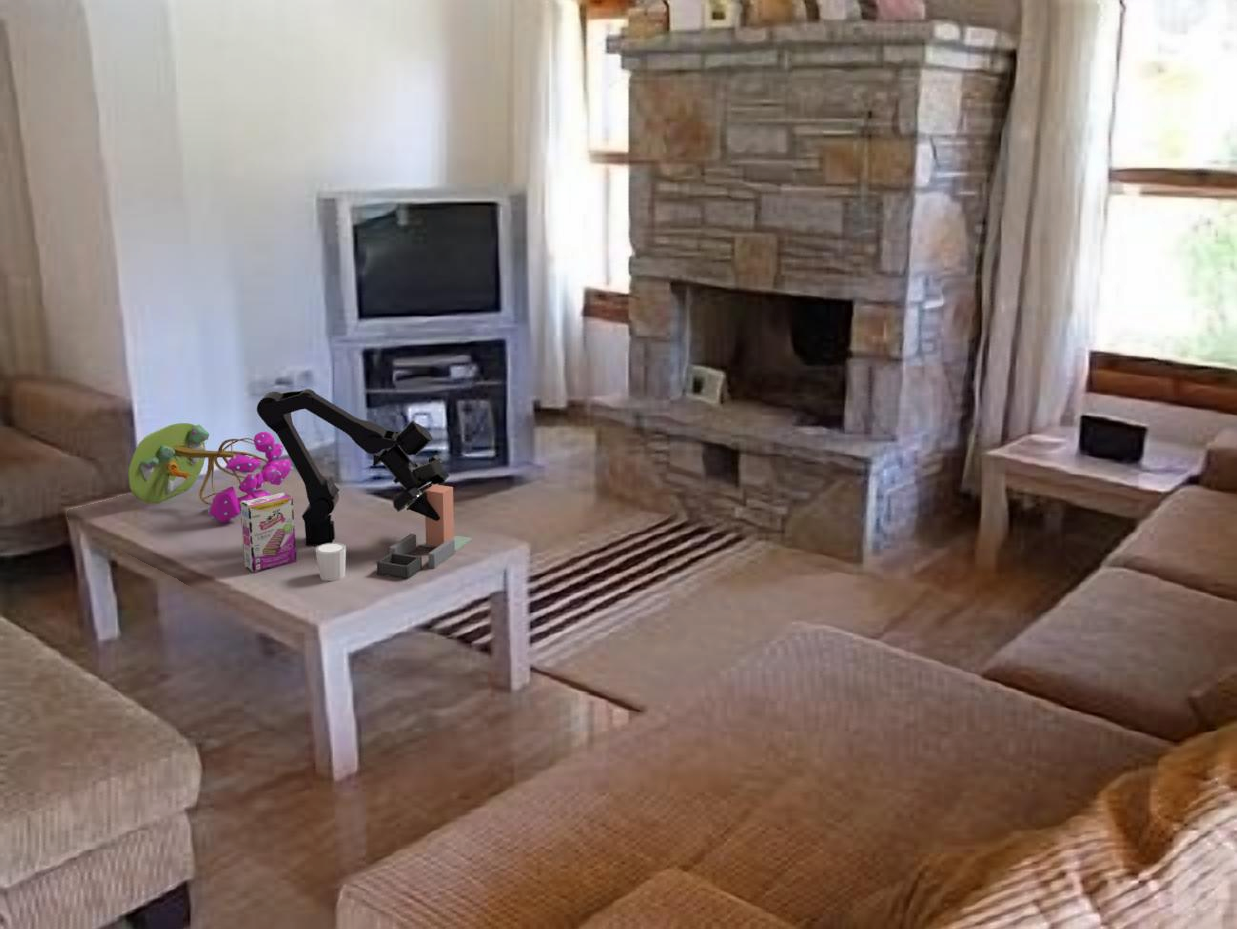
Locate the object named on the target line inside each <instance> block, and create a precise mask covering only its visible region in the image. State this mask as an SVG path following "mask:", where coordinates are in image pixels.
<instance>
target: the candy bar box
mask: <svg viewBox="0 0 1237 929" xmlns="http://www.w3.org/2000/svg"><path fill="white" fill-rule="evenodd" d="M293 500H294V499H293V496H291V495H289V494H287V493H285V492H280V493H279V492H278V493H275V494H271V495H269V496H264V497H260V498H255V499H250V500H246V501H241V502H240V510H241V514H240V520H241V533H242V547H243V548H242V550H243V561H244V567H245V568H246V569H247V570H248V571H250V570H251V571H250V572H252V571H253V572H252V573H258V572H260V571H264V570H270V569H273V568H276V567H279V566H283V565H288V564H292V563H295V562H297V547H296V532H295V530H296V529H295V519H294V518H295V517H294V514H295V513H294V501H293ZM257 571H258V572H257Z"/></svg>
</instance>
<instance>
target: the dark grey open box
mask: <svg viewBox="0 0 1237 929" xmlns="http://www.w3.org/2000/svg"><path fill="white" fill-rule="evenodd" d="M422 558H423V557H422V556H416V555H411V554H407V555H404V554H398V553H390V554H388V555H385V556H383V558H381V559H380V560H378V561H376V572H377V575H379V576H386V577H391V578H400V579H404V580H409V579H410V578H412V577H414V576H415V575H416V574H417V573H419V572H420V571H422V570H423V563H422Z"/></svg>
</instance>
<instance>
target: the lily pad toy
mask: <svg viewBox="0 0 1237 929" xmlns="http://www.w3.org/2000/svg"><path fill="white" fill-rule="evenodd" d="M209 437H210V433H209V432H208V431H207V430H206V429H205V428H204V427H203V426H202V425H201V424H197V425H195V424H193V423H188V422H181V423H173V424H170V425H167V426H164V427H163V428H160V429H158V430H156V431H153V432H151V433H149V434H146V436H145V437H144V438H143V439H142V440H141V441H140V442H139V443H138V445H137V447H136V448H135V451H134V453H133V456H132V458H131V461H130V464H129V466H128V472H127V477H128V478H127V480H128V485H129V489H130V492H131V493H132V494H133V495H134V496H135V497H136V498H137V499H139V500H140V501H143V502H145V503H148V504H156V503H157V504H160V503H162V502H164V501H166V500H168V499H172V498H173V497H175V495H176V496H178V495H180V494H182V493H184V492H183V491H185V492H186V490H187V491H188V490H190V489H191V488H192V487H193V485H194V484H195V482H196V481H197V479H198V478H201V476H200V474H201V472H202V469H203V467H204V464H205V460H208V461H207V470H206V474H205V477H204V480H203V482H202V485H201V487H200V490H199V493H198V497H199V499H200V500H201V502H203V503H204V504H205V505H210V506H209V509H207V513H208V514H209V515H210V516H211V519H212V520H214V519H216V520H218V521H219V522H221V523H223V524H226V523H228V522H230V521H232V520H233V519H235V518H236V517H239V516H241V510H240V502H241V501H246V500H250V499H255V498H260V497H264V496H269V495H272V494H271V493H270V492H269V490H266V489H262V488H263V487H264V485H265V483H266V482H267V483H270V484H271V485H275V486H280V485H281V484H282V483H283V481H284V480H285V479H286V478H287V477H288V475H290V473H291V470H294V467H293V466H292V464H291V463H292V461H291V459H288V458H286V459H285V458H283V459H279V458H280V457H281V456H282V454H283V450H284V446H283V444H281V443H275V438H274V436H273V435H272V434H271V433H270V432H267V431H260V432H258V433H256V434H255V436H254V437H253V438H249V437H246V438H245V437H244V438H240V439H239V438H230V439H226V440H224V441H222V443H221V444H220V445H219V447H218V449H217V450H206V442H205V441H207V440H208V441H209ZM249 440H250V441H249ZM251 441H253V442H254V443H253V442H251ZM230 442H231V443H230ZM238 442H244V443H248V444H251V445H254V448H255V450H256V451H257V452H260V453H264V454H265V458H266V459H267V460H266V459H264V458H262V457H261V456H258V455H256V454H253V453H251V452H250V453H249V452H246V451H240V450H239V451H238V450H233V445H234V444H235V443H238ZM227 443H229V444H227ZM226 444H227V445H226ZM225 445H226V446H225ZM224 446H225V447H224ZM229 447H230V449H231V450H226V449H228V448H229ZM218 458H222V460H223V461H224V462H225V468H223V467H222V466H221V465H220V464H219V462H218ZM228 458H229V459H228ZM278 459H279V460H278ZM276 460H277V461H276ZM261 462H264V463H265V464H263V465H261ZM215 466H216V468H218V469H219V470H220V471H223V472H224V473H226V474H228V475H231V476H233V477H236V479H237V481H238V483H239V485H238V487H237V488H238V490H240V492H242V493H245V494H244V495H242V496H240V497H238V495H237V493H236V489H235V488H234V486H229V487H227V488H225V489H221V490H220V491H217V492H216V491H215V489H214V471H215ZM257 469H259V470H260V472H258V473H256V474H255V475H254V474H253V473H254V472H255V471H257ZM229 470H230V471H232V472H230V471H229ZM238 474H243V475H246V476H241V475H238ZM210 476H211V486H212V491H213V493H212V494H209V495H208V496H205V497H203V491H204V490H205V487H206V485H207V484H208V481H209V479H210ZM241 478H242V479H243V478H244V479H243V480H242V481H241ZM181 492H182V493H181ZM179 493H180V494H179ZM177 494H178V495H177ZM211 496H214V497H213V498H212V502H211V503H210V502H208V501H205V499H208V498H210V497H211Z"/></svg>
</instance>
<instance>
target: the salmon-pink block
mask: <svg viewBox="0 0 1237 929" xmlns="http://www.w3.org/2000/svg"><path fill="white" fill-rule="evenodd" d="M425 492H427V500H428V502H429V503H430V504H431V506H432V507H433V508H434V510H435V511H436V512H437V514H438V516H439V517H440V519H439V520H438V521H435V520H433V519H431V518H429V517H426V516H424V519H425V520H424V523H425V541H426V545H430V546H436V547H438V546H440V545H441V544H443V543H444V542H446V541H447V540H448V539H451V540H454V535H455V531H454V530H455V526H454V525H455V522H454V521H455V520H454V515H455V514H454V487H453V486H448V485H444V486H442V485H433V486H431V487H430V488H428V489H426V490H425ZM425 492H424V493H425Z"/></svg>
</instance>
